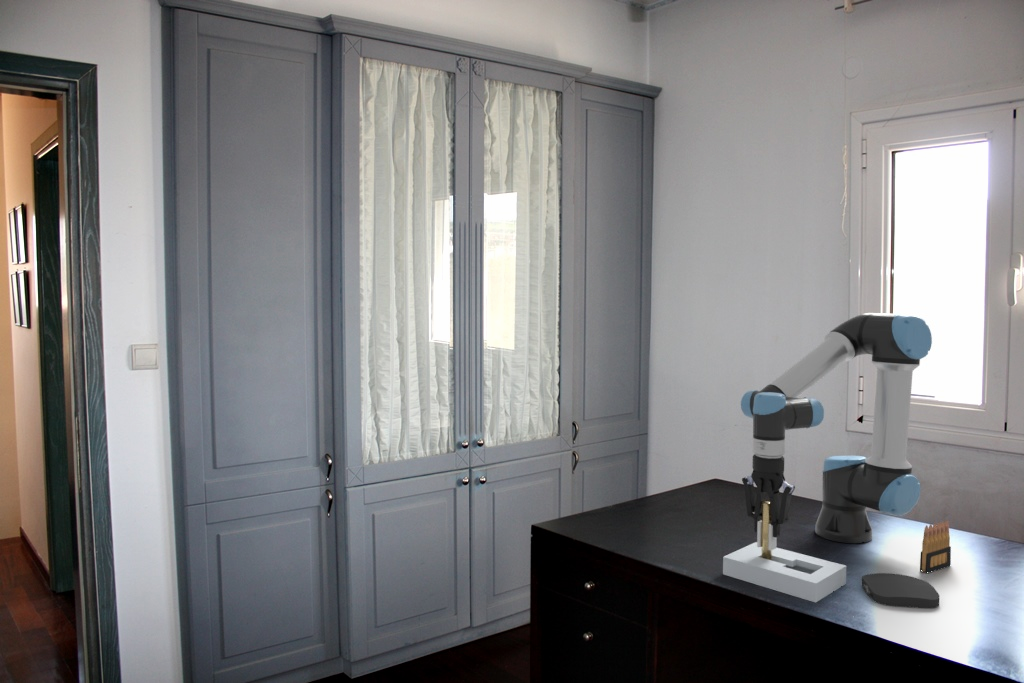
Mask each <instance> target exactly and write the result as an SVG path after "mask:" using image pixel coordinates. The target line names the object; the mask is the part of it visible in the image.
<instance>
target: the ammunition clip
mask: <svg viewBox="0 0 1024 683" xmlns="http://www.w3.org/2000/svg"><path fill="white" fill-rule="evenodd" d="M950 539H951V538H950V525H949V520H948V519H946V520H945V521H944V520H942V521H941V522H939V521H938V522H937V523H936V522H934V523H933V524H931V523H930V524H929V526H928V525H925V527H924V530H923V539H922V542H921V543H922V545H921V546H922V548H921V551H920V558H919V559H920V560H919V572H921V570H922V571H923V572H922V573H924V572H926V573H925V574H928V573H927V572H930V573H932V572H931V571H933V572H935V571H934V570H936V571H939V570H942V569H945V568H947V566H948V567H951V566H950V565H952V562H951V561H952V560H951V559H952V558H951V556H952V554H951V553H952V550H951V549H952V546H951V545H950V544H951V543H950ZM944 567H945V568H944ZM941 568H942V569H941ZM938 569H939V570H938Z"/></svg>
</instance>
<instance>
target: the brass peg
mask: <svg viewBox="0 0 1024 683" xmlns="http://www.w3.org/2000/svg"><path fill="white" fill-rule="evenodd" d="M770 523H772V519H771V508H770V500H769V501H768V500H767V501H766V500H765V501H764V502H762V557H761V558H764V559H768V560H772V550H768V542H769V524H770Z"/></svg>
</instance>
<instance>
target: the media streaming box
mask: <svg viewBox="0 0 1024 683" xmlns="http://www.w3.org/2000/svg"><path fill="white" fill-rule="evenodd" d="M861 587H862V588H863V590H864V591H865V593H866V595H867V596H868V598H870V599H871V600H872V601H874V602H875V603H878V604H880V605H883V606H884V605H885V606H890V607H902V608H915V607H918V608H917V609H920V608H921V609H936V608H938V607H939V606H940V594H939V592H938V590H937V589H936V588H935V587H934V586H933V585H932V584H931V583H930V582H928V581H926V580H923V579H921V578H918V577H914V576H911V575H906V574H900V573H887V572H877V573H868V574H865V575H863V576H861Z"/></svg>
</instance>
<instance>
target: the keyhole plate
mask: <svg viewBox="0 0 1024 683" xmlns="http://www.w3.org/2000/svg"><path fill="white" fill-rule="evenodd" d="M761 557H762V547H757V541H755V542H752V543H750V544H748V545H747V546H744V547H742V548H740V549H737V550H736V551H733V552H730V553H729V554H727V555H723V558H722V559H723V560H722V575H724V576H728V577H731V578H734V579H738V580H741V581H744V582H747V583H751V584H754V585H757V586H760V587H763V588H766V589H770V590H774V591H777V592H779V593H783V594H786V595H790V596H793V597H796V598H799V599H803V600H805V601H810V602H813V603H817V602H819V601H821V600H822V599H824V598H826V597H827V596H829V595H830V594H832V593H833V591H834V592H836V591H837V590H838V589H840V588H842V587H843V586H845V585H846V584H847V565H845V564H841V563H837V562H833V561H829V560H826V559H822V558H819V557H814V556H810V555H806V554H802V553H800V552H796V551H792V550H788V549H785V548H784V549H783V548H780V547H777V548H776V549H773V550H772V560H768V559H764V558H761ZM841 586H842V587H841Z"/></svg>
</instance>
